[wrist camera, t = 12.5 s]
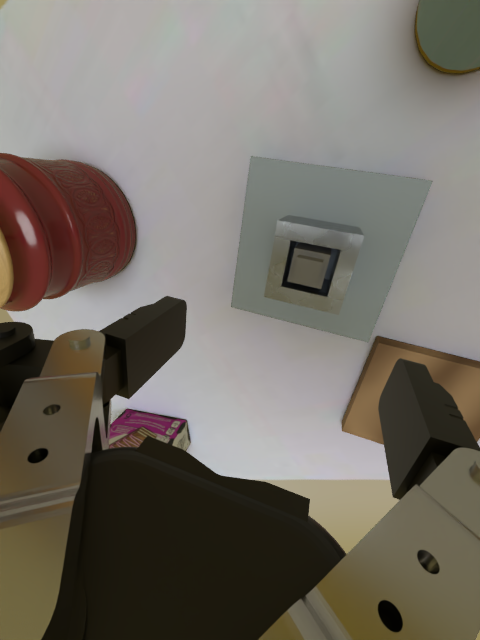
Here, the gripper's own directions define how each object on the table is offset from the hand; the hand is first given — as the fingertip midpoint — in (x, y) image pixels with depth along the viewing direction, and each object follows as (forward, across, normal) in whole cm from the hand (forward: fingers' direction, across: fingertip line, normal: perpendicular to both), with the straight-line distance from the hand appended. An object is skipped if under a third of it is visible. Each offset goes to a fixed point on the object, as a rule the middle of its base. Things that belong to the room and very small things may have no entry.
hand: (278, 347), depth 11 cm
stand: (+19, -14, +13) cm, 27 cm away
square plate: (+19, 0, 0) cm, 19 cm away
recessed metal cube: (+17, 0, 0) cm, 17 cm away
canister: (+19, +26, +2) cm, 32 cm away
